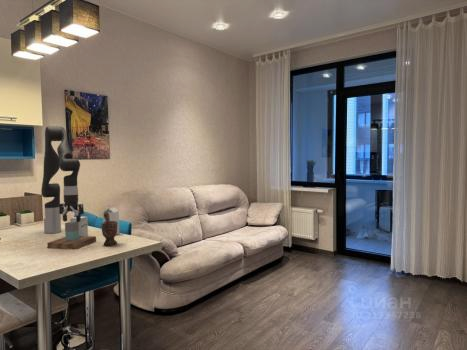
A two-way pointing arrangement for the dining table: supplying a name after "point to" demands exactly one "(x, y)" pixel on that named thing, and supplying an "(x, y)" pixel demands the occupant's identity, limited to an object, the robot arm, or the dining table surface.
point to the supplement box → (82, 225)
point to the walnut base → (71, 242)
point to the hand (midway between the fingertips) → (71, 221)
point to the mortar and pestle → (109, 230)
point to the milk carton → (113, 215)
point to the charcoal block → (71, 226)
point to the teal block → (72, 235)
